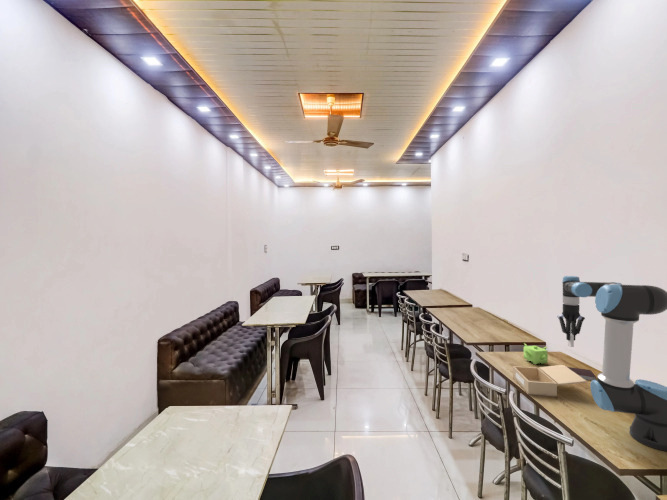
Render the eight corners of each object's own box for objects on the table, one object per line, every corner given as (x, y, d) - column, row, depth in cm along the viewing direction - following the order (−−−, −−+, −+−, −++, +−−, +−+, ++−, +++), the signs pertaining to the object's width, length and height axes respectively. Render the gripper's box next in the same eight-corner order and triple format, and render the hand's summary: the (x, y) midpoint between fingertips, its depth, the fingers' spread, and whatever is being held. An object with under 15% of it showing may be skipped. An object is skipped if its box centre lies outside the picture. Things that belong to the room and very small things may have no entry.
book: (553, 369, 207) (553, 364, 207) (590, 374, 199) (590, 368, 199) (557, 376, 196) (557, 371, 196) (596, 382, 187) (596, 376, 187)
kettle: (523, 357, 228) (523, 341, 228) (547, 360, 221) (547, 344, 220) (522, 363, 216) (522, 347, 215) (547, 368, 208) (548, 350, 208)
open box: (557, 396, 169) (557, 383, 169) (528, 394, 172) (528, 381, 171) (538, 379, 191) (538, 367, 191) (512, 377, 193) (512, 366, 193)
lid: (558, 383, 168) (559, 385, 168) (586, 381, 166) (587, 382, 166) (538, 367, 191) (539, 368, 191) (563, 364, 189) (563, 366, 189)
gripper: (580, 303, 180) (580, 344, 180) (554, 302, 182) (554, 343, 182) (588, 305, 172) (588, 348, 172) (561, 304, 174) (561, 347, 175)
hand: (570, 346), depth 177 cm, fingers closed
